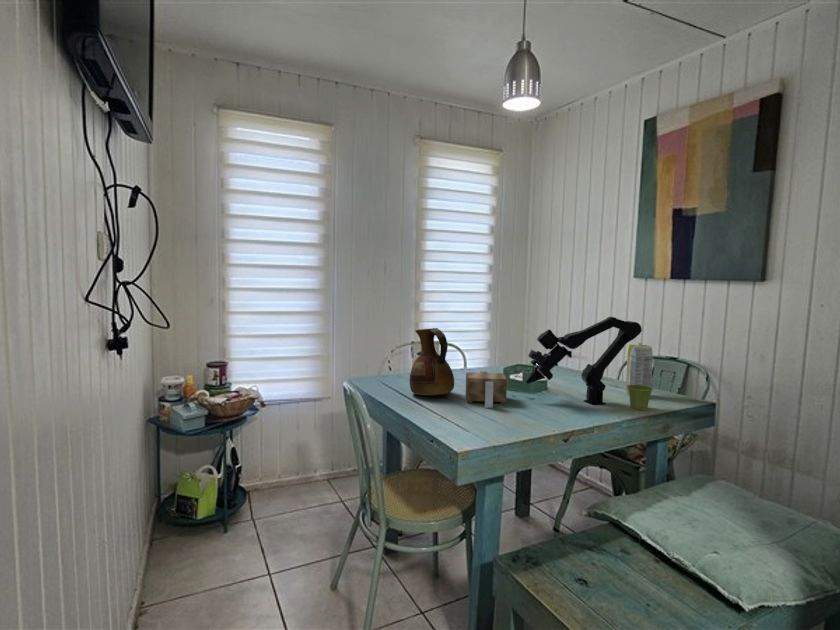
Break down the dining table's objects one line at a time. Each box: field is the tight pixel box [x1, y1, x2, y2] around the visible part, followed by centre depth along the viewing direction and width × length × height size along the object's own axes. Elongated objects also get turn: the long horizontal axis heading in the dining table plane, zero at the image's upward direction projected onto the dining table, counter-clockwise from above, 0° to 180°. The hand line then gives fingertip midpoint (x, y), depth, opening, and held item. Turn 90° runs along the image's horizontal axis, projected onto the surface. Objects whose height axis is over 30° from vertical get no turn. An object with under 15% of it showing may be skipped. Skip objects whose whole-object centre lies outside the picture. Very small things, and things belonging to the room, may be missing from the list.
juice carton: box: [625, 342, 654, 397], centre depth 207 cm, size 9×8×24 cm
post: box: [484, 382, 494, 409], centre depth 186 cm, size 3×3×10 cm
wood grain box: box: [465, 372, 508, 405], centre depth 197 cm, size 16×12×10 cm
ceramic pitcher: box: [409, 327, 455, 396], centre depth 204 cm, size 20×20×30 cm
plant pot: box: [627, 385, 654, 411], centre depth 187 cm, size 9×9×9 cm
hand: (526, 382), depth 196 cm, fingers closed
